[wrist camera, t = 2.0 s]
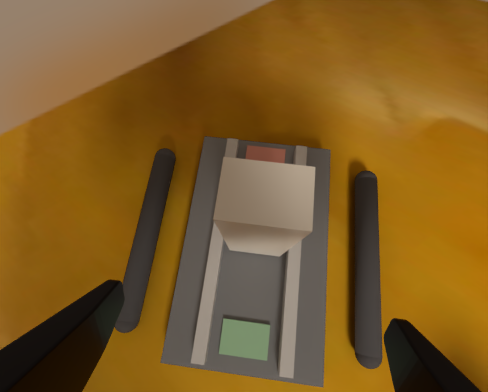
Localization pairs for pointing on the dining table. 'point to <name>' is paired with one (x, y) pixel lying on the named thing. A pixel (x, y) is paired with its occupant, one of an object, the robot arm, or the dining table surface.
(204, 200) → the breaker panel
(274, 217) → the handle
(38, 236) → the dining table surface
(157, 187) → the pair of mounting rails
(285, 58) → the dining table surface
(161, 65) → the dining table surface
